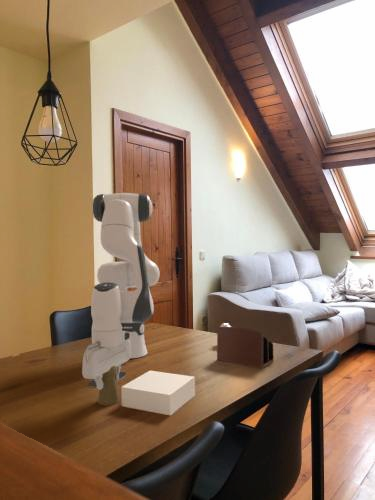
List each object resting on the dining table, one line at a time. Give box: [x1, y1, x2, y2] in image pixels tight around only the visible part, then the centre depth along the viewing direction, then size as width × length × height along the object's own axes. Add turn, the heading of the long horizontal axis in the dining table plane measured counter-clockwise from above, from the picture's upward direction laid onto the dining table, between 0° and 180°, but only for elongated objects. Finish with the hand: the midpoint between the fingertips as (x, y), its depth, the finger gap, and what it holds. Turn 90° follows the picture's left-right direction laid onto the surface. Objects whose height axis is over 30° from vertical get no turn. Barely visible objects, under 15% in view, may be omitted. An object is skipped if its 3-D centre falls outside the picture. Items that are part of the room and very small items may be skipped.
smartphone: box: [87, 371, 127, 388], centre depth 142 cm, size 8×1×15 cm
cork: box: [97, 366, 119, 406], centre depth 123 cm, size 6×6×11 cm
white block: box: [121, 370, 196, 416], centre depth 123 cm, size 16×16×6 cm
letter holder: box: [216, 326, 275, 369], centre depth 161 cm, size 10×20×14 cm, turn 55°
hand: (108, 384), depth 123 cm, fingers open, 6 cm apart
